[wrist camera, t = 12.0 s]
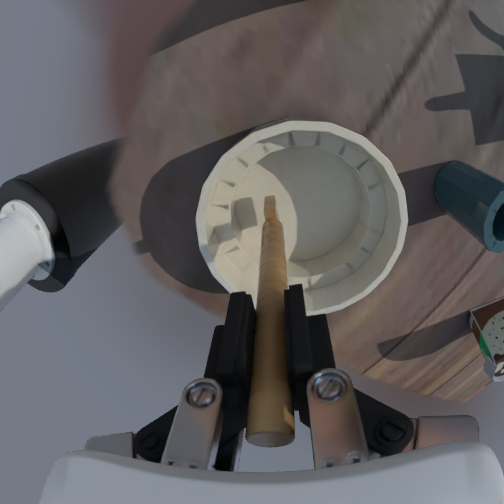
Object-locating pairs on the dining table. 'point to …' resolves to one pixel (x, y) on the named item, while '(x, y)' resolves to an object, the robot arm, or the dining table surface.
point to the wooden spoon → (270, 343)
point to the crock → (473, 202)
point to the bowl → (304, 211)
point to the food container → (490, 335)
